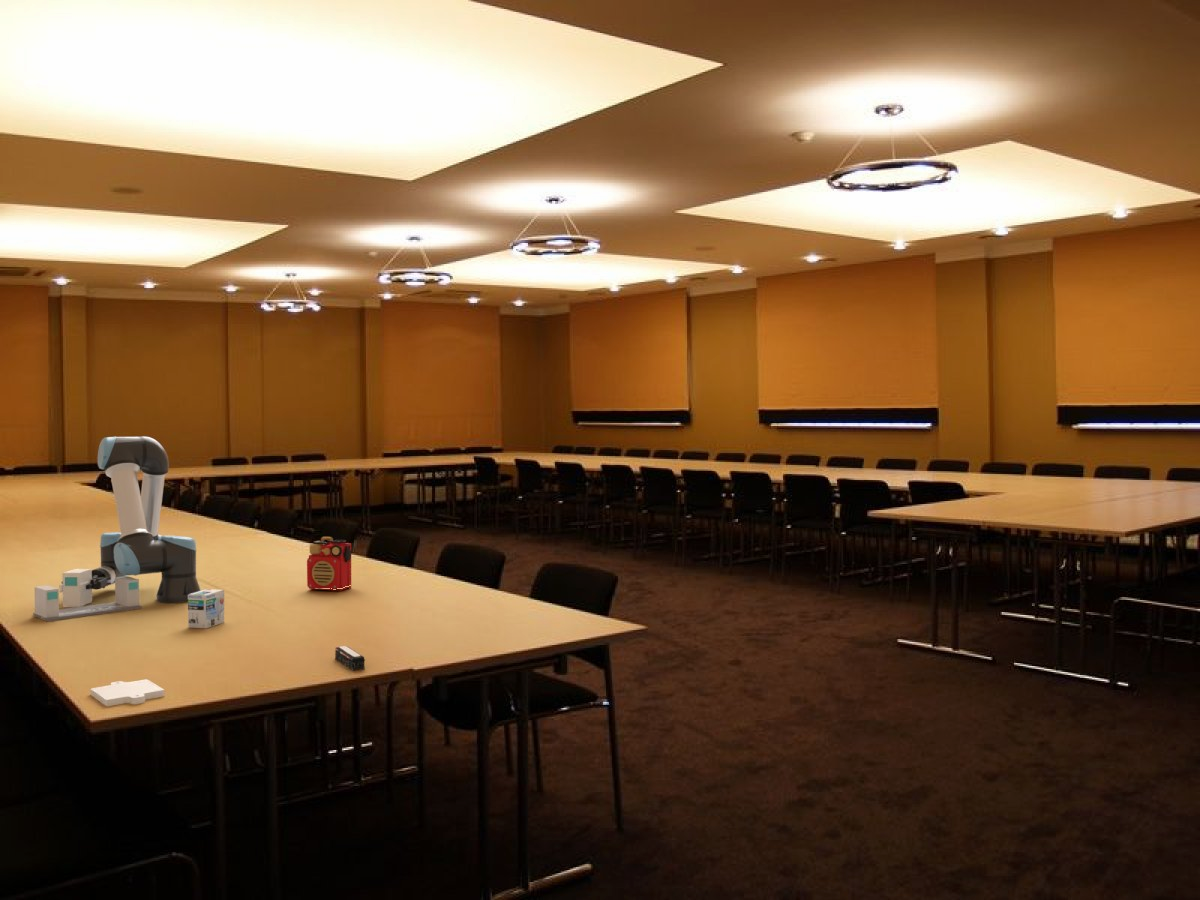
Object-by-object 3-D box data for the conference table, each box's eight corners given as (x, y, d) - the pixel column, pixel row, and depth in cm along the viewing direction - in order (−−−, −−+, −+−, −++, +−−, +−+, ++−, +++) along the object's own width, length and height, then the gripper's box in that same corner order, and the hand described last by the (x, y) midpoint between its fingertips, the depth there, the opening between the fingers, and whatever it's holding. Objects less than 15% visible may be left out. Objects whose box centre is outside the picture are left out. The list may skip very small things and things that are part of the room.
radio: (304, 590, 383) (304, 538, 382) (318, 586, 393) (317, 535, 392) (342, 592, 379) (341, 540, 379) (354, 588, 389) (354, 537, 388)
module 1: (47, 611, 335) (47, 585, 334) (59, 616, 328) (59, 588, 327) (34, 613, 332) (34, 586, 331) (46, 617, 325) (45, 590, 324)
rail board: (125, 603, 355) (125, 600, 355) (141, 608, 346) (141, 605, 346) (33, 615, 333) (33, 612, 333) (47, 621, 324) (47, 618, 324)
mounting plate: (168, 699, 237) (167, 691, 237) (109, 710, 228) (109, 702, 228) (143, 684, 251) (143, 677, 250) (87, 694, 242) (87, 686, 242)
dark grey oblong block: (338, 678, 259) (338, 662, 258) (311, 658, 280) (311, 643, 280) (392, 670, 266) (392, 655, 266) (361, 651, 287) (361, 637, 287)
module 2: (127, 601, 354) (126, 576, 354) (139, 605, 347) (139, 579, 347) (115, 602, 351) (115, 577, 351) (127, 606, 344) (127, 580, 344)
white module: (92, 602, 358) (91, 568, 357) (79, 607, 348) (79, 573, 348) (75, 602, 357) (74, 569, 357) (62, 607, 348) (61, 573, 348)
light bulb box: (206, 629, 314) (205, 595, 314) (187, 628, 315) (186, 594, 315) (225, 622, 324) (225, 589, 324) (206, 621, 326) (206, 588, 325)
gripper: (126, 587, 371) (98, 599, 348) (74, 588, 370) (42, 599, 347) (126, 567, 371) (98, 577, 348) (73, 568, 370) (42, 578, 347)
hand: (70, 588), depth 348 cm, fingers closed on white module, 6 cm apart
